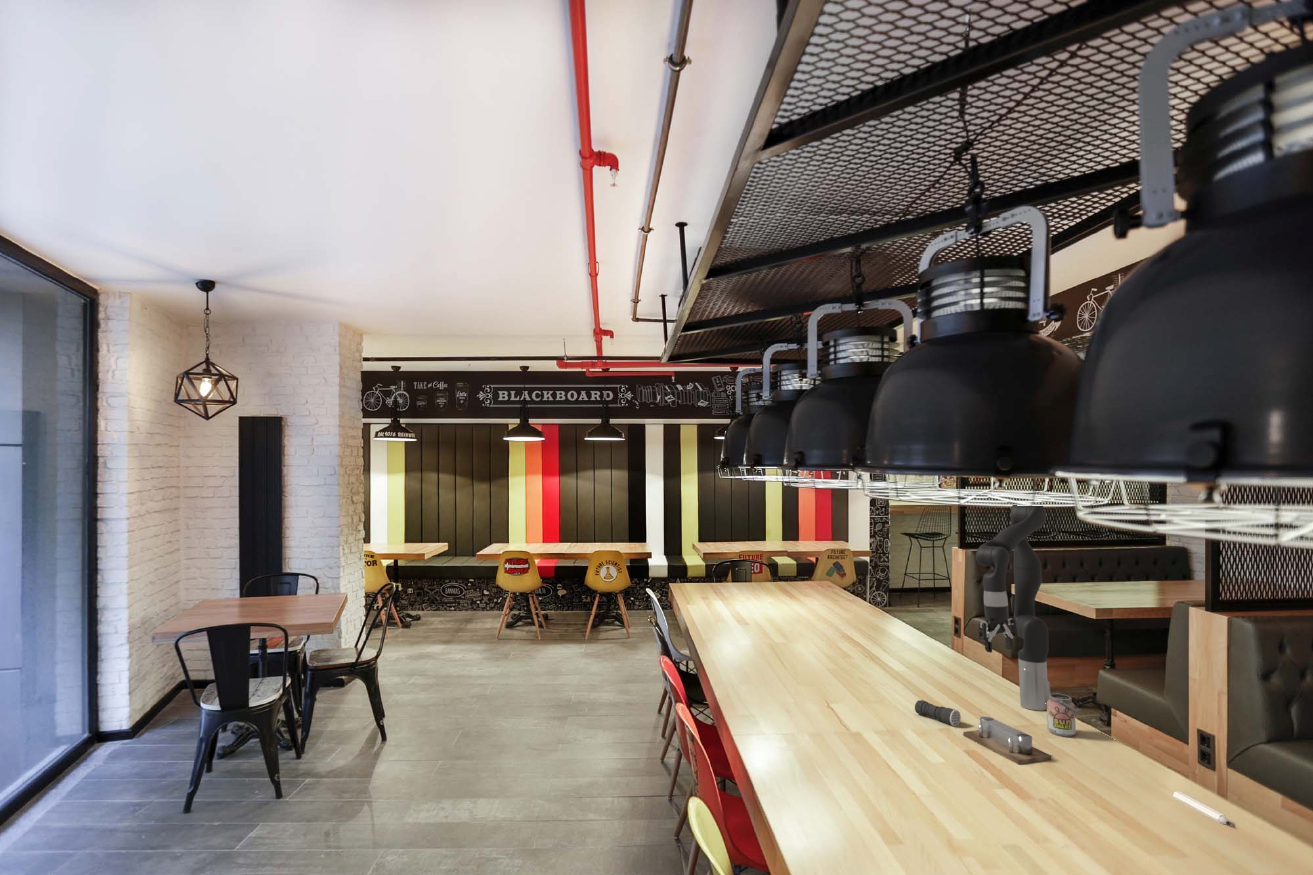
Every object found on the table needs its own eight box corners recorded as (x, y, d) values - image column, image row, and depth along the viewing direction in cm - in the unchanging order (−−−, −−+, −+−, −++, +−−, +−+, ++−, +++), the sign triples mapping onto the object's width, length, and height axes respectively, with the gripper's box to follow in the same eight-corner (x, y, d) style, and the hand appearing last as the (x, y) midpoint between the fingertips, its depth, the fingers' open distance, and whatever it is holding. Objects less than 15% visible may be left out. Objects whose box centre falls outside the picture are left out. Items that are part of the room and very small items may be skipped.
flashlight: (913, 715, 251) (912, 700, 252) (922, 712, 254) (922, 697, 255) (951, 727, 239) (950, 711, 239) (961, 724, 241) (960, 708, 242)
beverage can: (1078, 730, 234) (1076, 694, 234) (1081, 739, 226) (1079, 702, 227) (1046, 726, 238) (1045, 691, 238) (1049, 735, 230) (1047, 698, 231)
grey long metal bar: (988, 731, 231) (987, 715, 231) (1035, 754, 212) (1034, 737, 212) (977, 732, 230) (977, 717, 230) (1024, 755, 211) (1023, 739, 211)
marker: (1232, 832, 169) (1176, 801, 185) (1239, 827, 169) (1182, 796, 185) (1227, 823, 169) (1171, 793, 185) (1233, 818, 169) (1177, 788, 185)
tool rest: (993, 731, 234) (992, 715, 234) (1051, 759, 211) (1050, 741, 211) (963, 735, 231) (962, 719, 231) (1018, 764, 208) (1017, 746, 208)
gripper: (1004, 599, 249) (1007, 645, 248) (971, 603, 244) (974, 650, 244) (1020, 603, 241) (1024, 650, 241) (987, 607, 237) (990, 655, 236)
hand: (999, 650), depth 242 cm, fingers open, 8 cm apart
